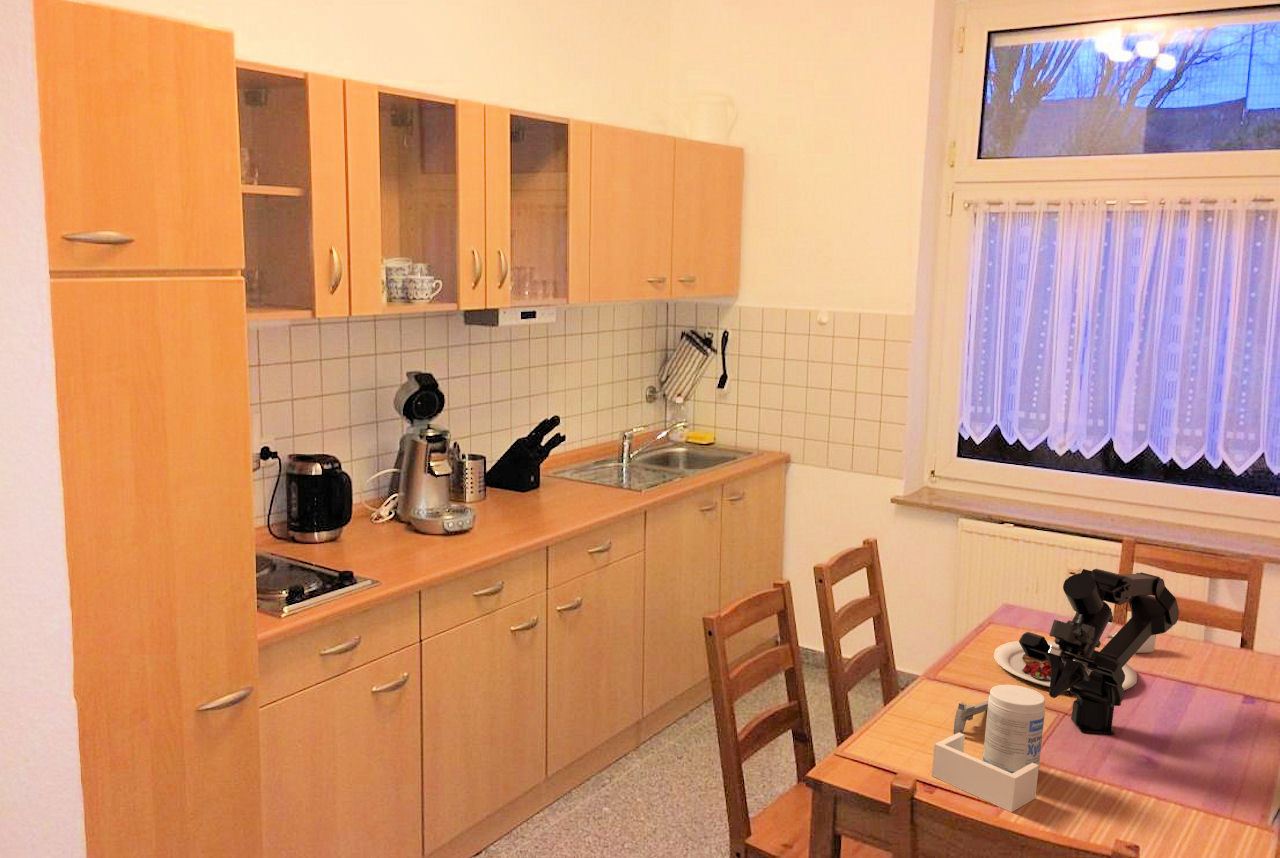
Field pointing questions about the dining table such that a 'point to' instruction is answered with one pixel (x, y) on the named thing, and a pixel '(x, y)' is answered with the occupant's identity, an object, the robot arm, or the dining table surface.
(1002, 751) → the supplement tub
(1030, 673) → the plated food
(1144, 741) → the dining table surface
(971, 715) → the caliper
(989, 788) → the cradle
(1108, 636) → the power adapter
